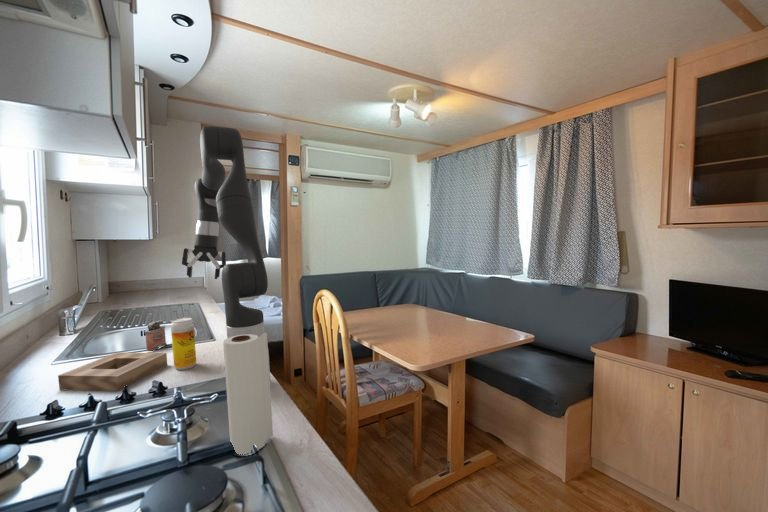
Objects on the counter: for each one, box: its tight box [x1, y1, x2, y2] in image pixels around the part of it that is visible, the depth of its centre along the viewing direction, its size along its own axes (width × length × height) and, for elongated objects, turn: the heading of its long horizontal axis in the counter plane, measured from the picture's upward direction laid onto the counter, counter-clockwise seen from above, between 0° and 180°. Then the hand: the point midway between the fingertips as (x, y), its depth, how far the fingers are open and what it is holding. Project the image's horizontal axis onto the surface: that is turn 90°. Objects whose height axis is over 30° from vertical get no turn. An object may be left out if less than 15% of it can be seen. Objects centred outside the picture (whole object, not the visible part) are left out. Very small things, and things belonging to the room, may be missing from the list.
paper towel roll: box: [222, 332, 274, 455], centre depth 66 cm, size 7×6×21 cm
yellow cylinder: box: [170, 317, 197, 371], centre depth 109 cm, size 6×6×15 cm
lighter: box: [144, 319, 167, 352], centre depth 129 cm, size 8×3×10 cm, turn 171°
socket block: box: [57, 352, 168, 392], centre depth 104 cm, size 18×18×4 cm
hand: (203, 278), depth 128 cm, fingers open, 8 cm apart
